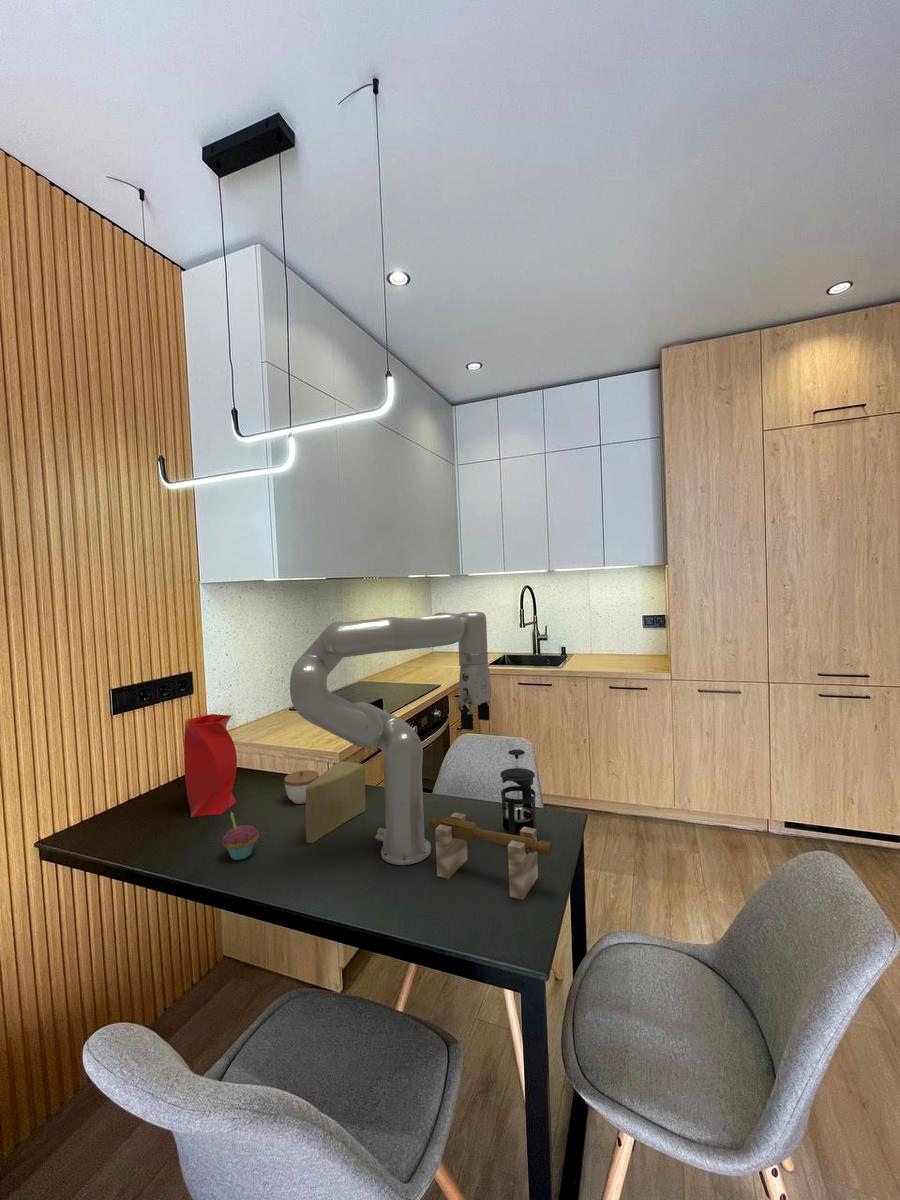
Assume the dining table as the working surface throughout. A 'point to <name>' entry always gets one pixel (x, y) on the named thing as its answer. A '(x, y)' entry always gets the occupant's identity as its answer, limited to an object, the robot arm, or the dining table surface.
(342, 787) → the cheese
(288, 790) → the lidded jar
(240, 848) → the cupcake
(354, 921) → the dining table surface
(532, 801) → the french press
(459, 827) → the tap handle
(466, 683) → the robot arm
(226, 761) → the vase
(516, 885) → the block
